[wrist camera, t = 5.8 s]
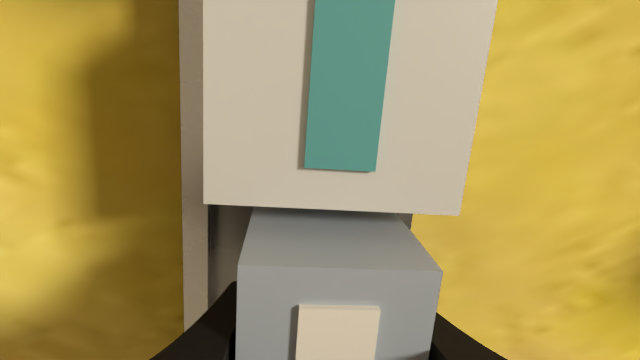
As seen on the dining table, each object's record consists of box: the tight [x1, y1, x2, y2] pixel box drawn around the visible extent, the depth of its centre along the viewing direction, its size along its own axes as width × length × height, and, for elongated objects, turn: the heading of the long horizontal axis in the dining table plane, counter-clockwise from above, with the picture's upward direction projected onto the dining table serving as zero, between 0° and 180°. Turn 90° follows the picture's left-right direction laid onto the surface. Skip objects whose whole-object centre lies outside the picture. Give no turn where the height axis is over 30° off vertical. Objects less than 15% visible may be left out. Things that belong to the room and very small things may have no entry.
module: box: [203, 0, 498, 216], centre depth 10 cm, size 6×6×5 cm
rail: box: [179, 0, 413, 332], centre depth 14 cm, size 22×8×2 cm, turn 176°
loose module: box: [235, 206, 443, 360], centre depth 11 cm, size 6×4×6 cm, turn 176°
